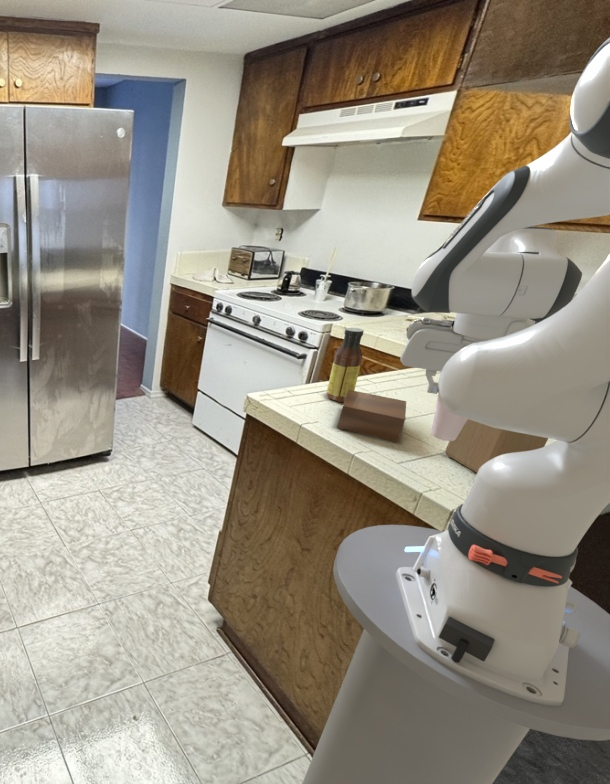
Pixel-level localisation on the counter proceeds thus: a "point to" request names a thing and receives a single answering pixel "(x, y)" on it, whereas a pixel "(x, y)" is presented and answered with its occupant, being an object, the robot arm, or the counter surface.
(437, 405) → the smoothie
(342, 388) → the sauce bottle
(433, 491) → the counter surface
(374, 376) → the counter surface
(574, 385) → the robot arm
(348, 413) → the walnut block
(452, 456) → the wooden block
